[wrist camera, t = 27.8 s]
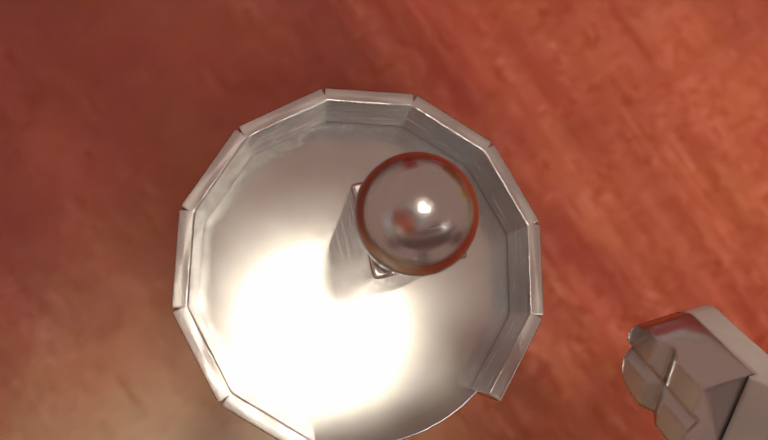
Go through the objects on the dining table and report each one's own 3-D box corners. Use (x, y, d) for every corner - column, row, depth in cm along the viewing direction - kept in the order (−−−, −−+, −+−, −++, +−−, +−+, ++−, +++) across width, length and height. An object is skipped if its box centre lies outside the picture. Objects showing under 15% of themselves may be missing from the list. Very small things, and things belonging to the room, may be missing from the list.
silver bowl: (221, 490, 20) (117, 709, 8) (153, 145, 21) (-10, -72, 10) (558, 390, 22) (847, 451, 10) (471, 86, 24) (635, -147, 12)
